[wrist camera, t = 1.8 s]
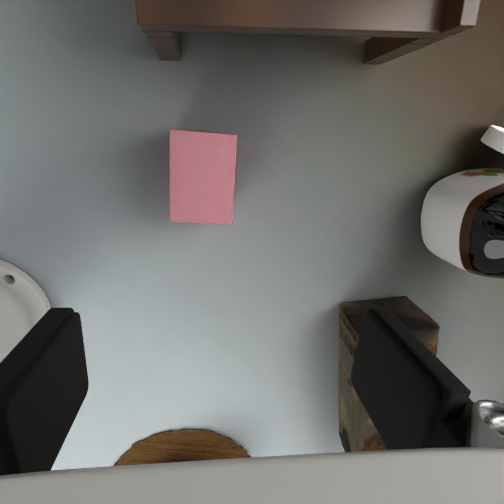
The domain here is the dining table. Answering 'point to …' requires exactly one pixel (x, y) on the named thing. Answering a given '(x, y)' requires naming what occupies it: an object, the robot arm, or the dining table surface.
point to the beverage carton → (350, 318)
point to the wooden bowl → (182, 448)
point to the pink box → (202, 176)
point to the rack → (310, 21)
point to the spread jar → (468, 216)
